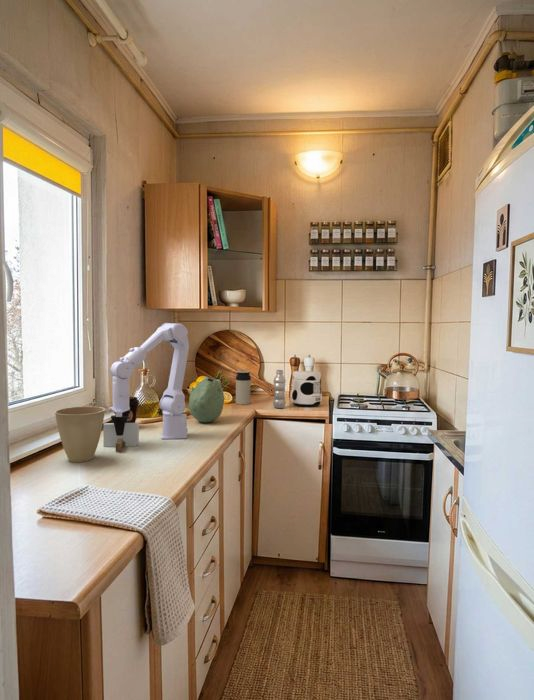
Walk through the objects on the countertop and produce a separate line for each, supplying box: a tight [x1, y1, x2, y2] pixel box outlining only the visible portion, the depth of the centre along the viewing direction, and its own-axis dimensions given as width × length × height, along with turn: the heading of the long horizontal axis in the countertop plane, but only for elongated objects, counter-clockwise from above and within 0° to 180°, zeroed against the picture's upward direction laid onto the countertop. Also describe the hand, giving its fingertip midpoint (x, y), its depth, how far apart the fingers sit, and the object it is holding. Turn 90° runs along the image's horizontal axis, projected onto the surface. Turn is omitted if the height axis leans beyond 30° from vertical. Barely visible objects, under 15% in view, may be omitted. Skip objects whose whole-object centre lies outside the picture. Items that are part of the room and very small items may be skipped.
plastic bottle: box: [272, 369, 287, 409], centre depth 248 cm, size 6×7×20 cm
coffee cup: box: [127, 396, 140, 423], centre depth 196 cm, size 9×8×13 cm
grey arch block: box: [102, 422, 140, 448], centre depth 170 cm, size 12×2×8 cm, turn 101°
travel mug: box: [235, 369, 252, 406], centre depth 260 cm, size 8×8×18 cm
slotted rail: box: [115, 439, 125, 453], centre depth 170 cm, size 2×18×3 cm, turn 11°
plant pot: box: [54, 405, 106, 463], centre depth 153 cm, size 15×15×16 cm
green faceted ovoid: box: [187, 376, 225, 424], centre depth 211 cm, size 16×19×20 cm
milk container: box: [290, 370, 323, 407], centre depth 259 cm, size 17×17×18 cm
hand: (120, 432), depth 170 cm, fingers open, 7 cm apart
